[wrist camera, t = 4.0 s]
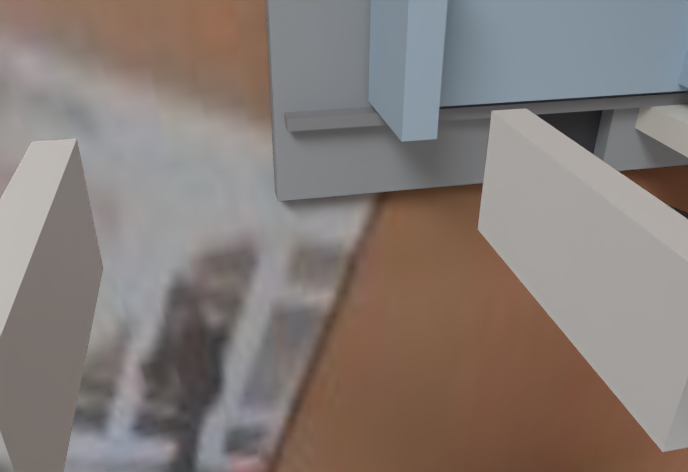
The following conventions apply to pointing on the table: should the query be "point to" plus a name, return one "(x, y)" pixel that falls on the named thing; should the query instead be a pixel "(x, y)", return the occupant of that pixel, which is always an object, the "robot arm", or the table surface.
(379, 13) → the sled
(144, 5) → the table surface
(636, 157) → the track
